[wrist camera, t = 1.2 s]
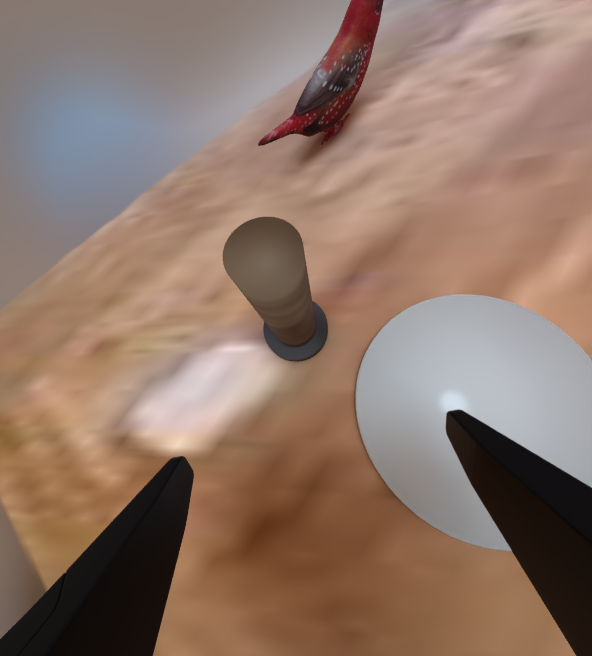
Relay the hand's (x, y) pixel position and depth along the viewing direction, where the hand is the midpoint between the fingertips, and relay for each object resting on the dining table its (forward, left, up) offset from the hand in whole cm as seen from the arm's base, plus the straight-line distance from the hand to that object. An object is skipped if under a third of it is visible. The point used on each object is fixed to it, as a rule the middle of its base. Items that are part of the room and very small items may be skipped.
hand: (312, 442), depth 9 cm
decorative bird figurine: (+29, +6, -13) cm, 32 cm away
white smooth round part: (+4, -11, -13) cm, 18 cm away
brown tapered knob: (+7, +4, -13) cm, 15 cm away
